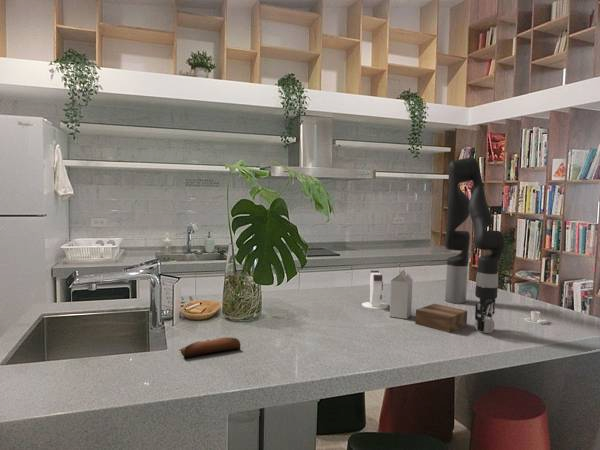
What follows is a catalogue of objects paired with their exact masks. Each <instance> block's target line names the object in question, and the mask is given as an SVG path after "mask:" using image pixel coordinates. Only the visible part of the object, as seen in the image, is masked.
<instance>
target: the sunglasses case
mask: <svg viewBox="0 0 600 450" xmlns="http://www.w3.org/2000/svg"><path fill="white" fill-rule="evenodd" d="M237 349H238V350H239V351H240V350H241V342H240V340H239V339H238V338H236V337H230V336H229V337H227V336H225V337H223V336H222V337H217V338H213V339H206V340H198V341H195V342H192V343H191V344H190V343H189V345H186V346H185V347H184V346H183V347H182V348H180V349H178V352H179V351H181V353H182V354H181V353H180V354H181V356H182V355H183V356H184V357H183V356H182V357H183V359H184V358H185V359H188V358H193V357H197V356H200V355H201V356H202V355H204V354H212V353H218V352H224V351H229V350H230V351H231V350H237Z"/></svg>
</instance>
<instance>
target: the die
mask: <svg viewBox="0 0 600 450" xmlns="http://www.w3.org/2000/svg"><path fill="white" fill-rule="evenodd" d="M480 317H481V315H480ZM477 325H478V320H474V327H475V329H476V331H477V332H479V333H482V334H490V333H492V332H493V331H494V330H495V327H496V326H495V321H494V320H493V317H492V318H490V317H487V316H486V317H485V323H484V331H483V332H482V331H478V330H477Z"/></svg>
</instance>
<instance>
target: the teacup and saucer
mask: <svg viewBox="0 0 600 450" xmlns="http://www.w3.org/2000/svg"><path fill="white" fill-rule="evenodd" d="M530 316H531V317H526V318H524V321H526V322H528V323H532V324H535V323H536V324H538V325H540V324H542V325H543V324H545V325H546V324H547V323H548V320H547V319H541V312H540V311H537V310H532V311H530ZM530 320H531V321H530Z"/></svg>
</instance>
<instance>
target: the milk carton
mask: <svg viewBox="0 0 600 450" xmlns="http://www.w3.org/2000/svg"><path fill="white" fill-rule="evenodd" d="M412 296H413V278H411V275H410V274H409V273H408V272H406V268H405V269H404V268H403V269H401V270H400V271H399V274H397V276H395V277H394V278H392V279H391V280H390V297H389V298H390V299H389V317H393V318H397V319H404V320H408V319H409V317H411V316H412V302H413V301H412V300H413V297H412Z"/></svg>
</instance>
